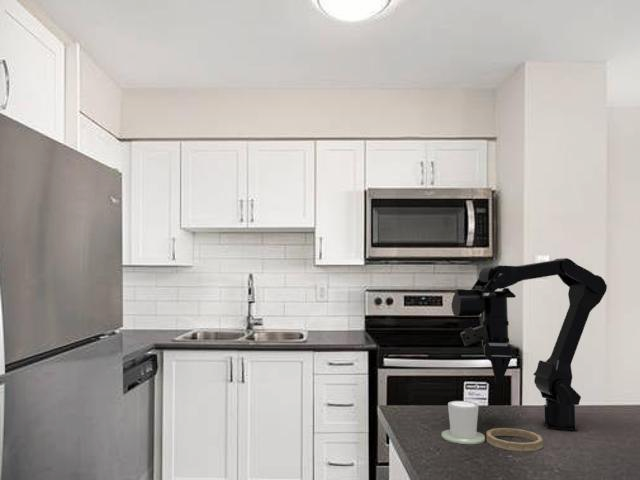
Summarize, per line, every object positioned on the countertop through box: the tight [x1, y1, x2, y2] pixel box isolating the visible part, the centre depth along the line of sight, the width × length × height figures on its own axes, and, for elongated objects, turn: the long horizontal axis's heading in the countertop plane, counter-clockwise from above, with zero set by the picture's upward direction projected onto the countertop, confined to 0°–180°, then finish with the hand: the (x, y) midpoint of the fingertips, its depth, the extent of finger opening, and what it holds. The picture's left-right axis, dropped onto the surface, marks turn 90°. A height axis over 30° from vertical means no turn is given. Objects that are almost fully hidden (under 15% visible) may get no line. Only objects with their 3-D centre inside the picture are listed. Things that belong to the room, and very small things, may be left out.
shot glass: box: [447, 400, 480, 439], centre depth 120 cm, size 7×7×7 cm
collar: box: [486, 427, 544, 452], centre depth 116 cm, size 12×12×2 cm
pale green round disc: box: [441, 428, 486, 445], centre depth 120 cm, size 10×10×1 cm
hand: (497, 380), depth 128 cm, fingers open, 9 cm apart
